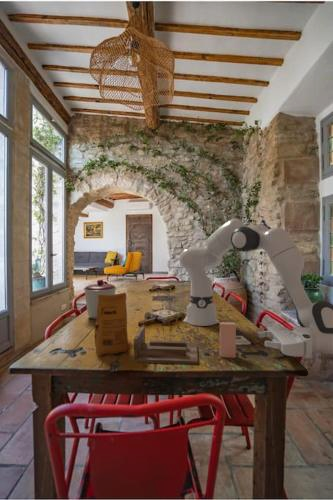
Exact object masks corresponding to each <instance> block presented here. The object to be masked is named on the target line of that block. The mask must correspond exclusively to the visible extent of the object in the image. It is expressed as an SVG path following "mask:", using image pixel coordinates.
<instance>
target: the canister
mask: <svg viewBox="0 0 333 500" xmlns="http://www.w3.org/2000/svg"><path fill="white" fill-rule="evenodd" d="M116 289H117V286H115V285H114V284H110V283H104V280H103V279H98V280H97V281H96V283H95V284H94V283H93V284H88V285H87V286H85V287H84V288H83V291H84V296H85V297H84V298H85V304H86V311H87V316H88V317H89V318H90V319H92V318H93V319H92V320H97V308H98V295H99V294H105V295H115V294H116Z"/></svg>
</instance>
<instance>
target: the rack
mask: <svg viewBox="0 0 333 500" xmlns="http://www.w3.org/2000/svg"><path fill="white" fill-rule="evenodd" d="M198 359H199V357H198V345H197V344H194V343H193V344H192V343H191V344H189V343H187V340H164V339H163V340H160V339H159V340H158V339H150V340H149V342H146V326H145V325H141V327H140V328H139V330H138V332H137V333H136V335H135V337H134V338H133V363H150V364H151V363H153V364H154V363H155V364H176V365H177V364H180V365H182V364H183V365H198Z"/></svg>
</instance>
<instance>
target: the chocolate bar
mask: <svg viewBox="0 0 333 500" xmlns="http://www.w3.org/2000/svg"><path fill="white" fill-rule="evenodd" d="M218 332H219V333H220V329H219V331H218ZM245 345H255V342H254V341H253V340H251V339H250V338H249V337H248V336H246V335H245V334H244V333H243V332H242V331H240V330H239V329H236V346H245Z"/></svg>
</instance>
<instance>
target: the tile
mask: <svg viewBox="0 0 333 500" xmlns="http://www.w3.org/2000/svg"><path fill="white" fill-rule="evenodd" d="M236 328H237V324H236V323H235V322H228V321H227V322H223V321H222V322H220V323H219V330H220V332H219V357H220V358H231V359H232V358H233V359H234V358H237V355H236V354H237V353H236V352H237V348H236V346H237V345H236V330H237V329H236Z"/></svg>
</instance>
